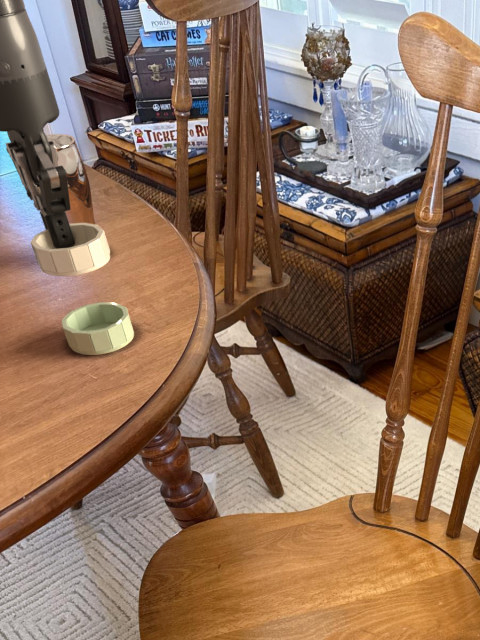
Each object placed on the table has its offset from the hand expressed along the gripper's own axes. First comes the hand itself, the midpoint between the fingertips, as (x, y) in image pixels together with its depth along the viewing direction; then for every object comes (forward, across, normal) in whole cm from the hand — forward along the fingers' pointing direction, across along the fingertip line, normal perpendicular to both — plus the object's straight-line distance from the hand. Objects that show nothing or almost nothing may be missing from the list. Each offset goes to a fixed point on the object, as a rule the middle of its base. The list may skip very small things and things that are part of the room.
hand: (63, 244), depth 87 cm
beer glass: (+10, +21, -6) cm, 24 cm away
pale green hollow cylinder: (+10, -3, 0) cm, 11 cm away
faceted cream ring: (+1, -3, 0) cm, 3 cm away
